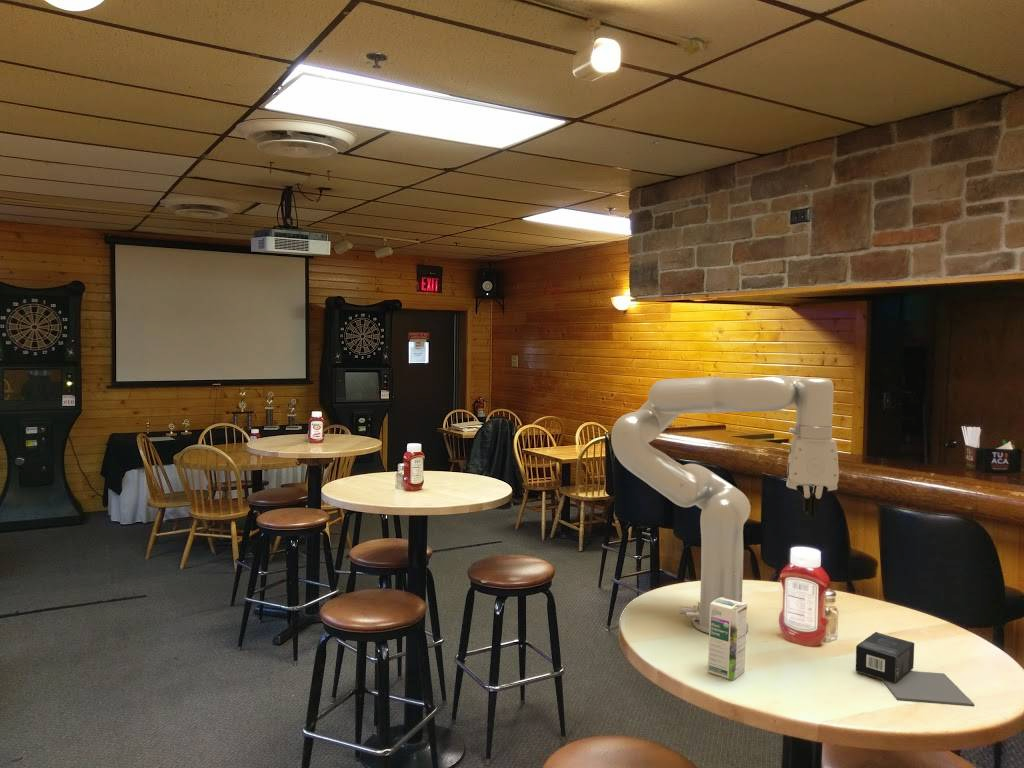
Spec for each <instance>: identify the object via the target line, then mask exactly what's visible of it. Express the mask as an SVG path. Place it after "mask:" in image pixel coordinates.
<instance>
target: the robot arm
mask: <svg viewBox="0 0 1024 768" xmlns="http://www.w3.org/2000/svg"><path fill="white" fill-rule="evenodd" d="M834 385H835V384H834V382H833V381H832V379H829V378H826V377H802V378H801V377H793V376H787V375H773V376H766V377H752V378H751V377H749V378H745V377H743V378H728V377H727V378H725V377H721V376H706V377H705V376H704V377H703V376H702V377H685V378H684V377H683V378H665V379H660V380H657V381H656V382H654V383H653V384H652V385H651V387H650V388H649V390H648V399H647V400H646V401H645V402H644V403H643V404H642V405H641V406H640V407H639V408H638V409H637V410H636V411H632V412H629V413H628V412H627V413H626V414H624V415H622V416H620V417H619V418H618V419H617V420H616V421H615V423H614V424H613V427H612V429H611V435H610V440H611V441H610V442H611V447H612V450H613V453H614V456H615V457H616V458H617V460H618V461H619V463H620V464H621V465H622V466H623V467H624V468H625V469H626V470H627V471H629V472H630V473H631V474H633V475H634V476H636V477H637V478H639V479H640V480H642V481H643V482H644V483H646V484H648V486H650V487H651V488H652V489H654V490H656V491H657V492H658V493H659V494H661V495H662V496H664V497H665V498H667V499H668V500H669V501H670V502H672V503H673V504H675V505H677V506H679V507H682V508H691V507H693V506H696V507H697V508H699V509H700V510H701V512H700V518H699V519H700V520H699V522H700V523H699V524H700V535H701V536H700V538H701V540H700V541H701V545H700V546H701V549H700V550H701V551H700V552H701V555H700V558H701V559H700V564H701V565H700V567H701V568H700V596H699V597H700V599H699V600H700V601H699V602H697V605H693V606H682V605H680V606H679V615H685V618H689V619H690V618H692V626H694V628H696V629H697V630H698V631H701V632H703V633H705V632H706V634H709V618H710V603H712V602H713V601H714V600H716V599H718V598H721V597H723V598H725V599H730V600H734V601H738V602H742V603H743V578H744V533H743V532H744V525H745V524H746V522H747V520H748V519H749V517H750V514H751V503H750V501H749V499H748V497H747V496H746V495H745V493H744V492H742V491H741V490H740V489H739V488H737V487H736V486H734V485H733V484H732V483H730V482H728V481H727V480H725V479H723V478H722V477H720V476H719V475H718V474H716V473H714V472H713V471H711V470H710V469H708V468H707V467H705V466H702V465H700V464H697V463H687V464H684V465H683V464H681V463H680V462H677V461H676V460H674V459H673V458H671V457H670V456H668V454H666V453H664V452H663V451H661V450H659V449H657V448H656V447H653V446H652V445H650V443H651V442H653V441H654V440H655V439H656V438H658V437H659V436H660V435H661V434H662V433H663V432H664V431H665V430H666V429H668V427H669V426H670V425H671V424H672V423H673V422H674V421H675V420H676V419H677V418H678V417H679V416H680V415H681V414H683V415H684V414H685V415H686V414H725V413H731V412H732V413H747V412H752V413H753V412H778V411H781V410H784V409H787V408H796V410H795V424H794V426H792V427H791V426H790V427H788V433H789V434H792V435H794V437H792V438H791V442H790V448H789V453H788V460H787V467H786V469H787V470H786V477H787V480H786V487H787V488H788V489H792V490H796V491H798V492H799V493H800V495H802V497H803V498H802V499H803V500H802V510H803V511H802V512H804V514H805V515H806V516H808V517H811V516H813V517H817V513H819V509H820V499H821V498H822V496H823V495H824V494H826V493H827V492H831V491H836V490H838V483H839V479H840V478H839V477H840V470H839V456H838V455H839V454H838V452H839V451H838V447H837V446H838V444H837V441H836V440H834V439H833V418H834V417H833V415H834V413H833V412H834V393H835V392H834V390H835V389H834V387H835V386H834ZM810 486H813V490H812V493H811V492H810ZM748 631H749V625H748V623H747V621H746V633H747V632H748Z"/></svg>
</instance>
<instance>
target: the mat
mask: <svg viewBox="0 0 1024 768" xmlns="http://www.w3.org/2000/svg"><path fill="white" fill-rule="evenodd" d="M880 680H881V682H883V684H884V685H885V686H886V687H887V689H888V690H889V692H890V693H891V694H892V695H893V697H894V698H895V699H896V700H897V701H906V702H918V703H919V702H920V703H933V704H943V705H944V704H945V705H957V706H968V705H969V707H975V703H974V702H973V701H972V700H971V699H970V698H969V697H968V696H967V695H966V694H965V693H964V692H963V691H962V690H961V689H960V688H959V686H958V685H956V684H955V682H953V681H952V679H950V677H948V676H947V675H946V673H942V672H930V671H918V670H917V671H915V670H911V671H910V672H908V673H907V674H906V675H905V676H904V677H902V678H901V679H900V680H899V681H898V682H897V683H892V682H889V681H885V680H882V679H880Z"/></svg>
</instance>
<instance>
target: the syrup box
mask: <svg viewBox="0 0 1024 768" xmlns="http://www.w3.org/2000/svg"><path fill="white" fill-rule="evenodd" d="M747 610H748V603H747V602H743V601H742V602H738V601H734V600H730V599H725V598H723V597H721V598H718V599H716V600H714V601H713V602H712V603H710V618H709V633H708V658H707V659H708V660H707V673H708V672H709V674H712V675H713V674H714V675H715V676H719V677H722V678H725V679H728V680H731V681H734V680H736V679H737V678H739V677H740V676H741V675H742V674H743V673H745V666H746V644H747V643H746V642H747V639H746V638H747V632H746V622H747V616H748V615H747V613H748V612H747Z"/></svg>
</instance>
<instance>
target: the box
mask: <svg viewBox="0 0 1024 768" xmlns="http://www.w3.org/2000/svg"><path fill="white" fill-rule="evenodd" d="M914 657H915V642H913V641H909V640H905V639H901V638H897V637H895V636H891V635H887V634H884V633H881V632H877V631H875V632H874V633H872V634H871V635H869V636H868V637H866V638H865V639H863V640H862V641H861V642H859V643H858V644H856V646H855V672H857V673H861V674H864V675H867V676H870V677H873V678H876V679H878V680H879V679H880V680H881V679H882V680H885V681H889V682H892V683H897V682H898V681H899V680H900V679H901V678H902V677H904V676H905V675H906V674H907V673H908V672H910V671H913V669H914V665H915V664H914V663H915V662H914V661H915V659H914ZM882 680H881V681H882Z"/></svg>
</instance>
